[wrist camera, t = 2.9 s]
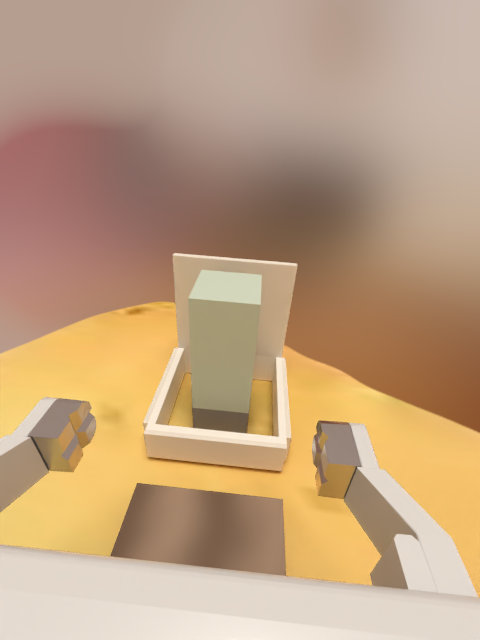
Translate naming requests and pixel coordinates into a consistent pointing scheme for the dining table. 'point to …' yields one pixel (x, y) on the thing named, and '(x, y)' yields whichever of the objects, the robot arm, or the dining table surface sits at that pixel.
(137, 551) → the walnut board
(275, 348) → the white backed tray
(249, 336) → the sage box
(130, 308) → the dining table surface
